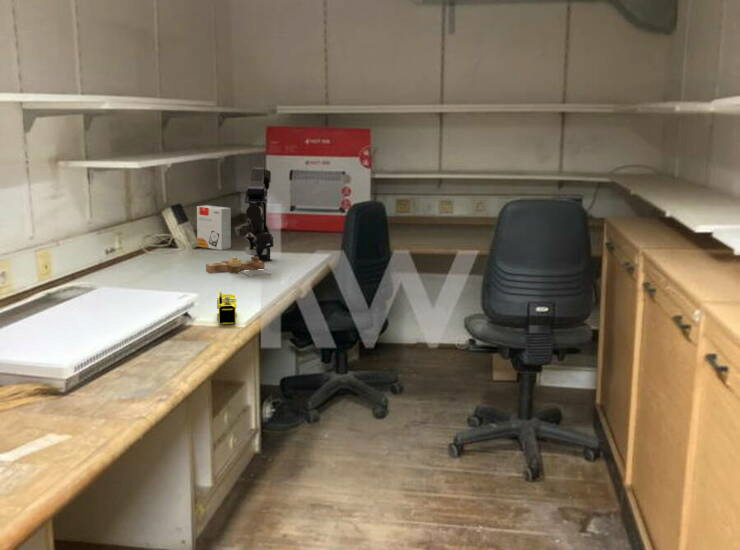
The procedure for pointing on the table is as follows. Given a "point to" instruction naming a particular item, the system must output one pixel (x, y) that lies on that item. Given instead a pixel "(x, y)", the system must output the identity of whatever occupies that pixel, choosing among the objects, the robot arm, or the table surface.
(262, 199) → the robot arm
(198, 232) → the hard drive box
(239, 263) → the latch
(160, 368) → the table surface
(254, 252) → the cap plate
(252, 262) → the plane body
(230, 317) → the yellow toy chassis
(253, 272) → the mat
